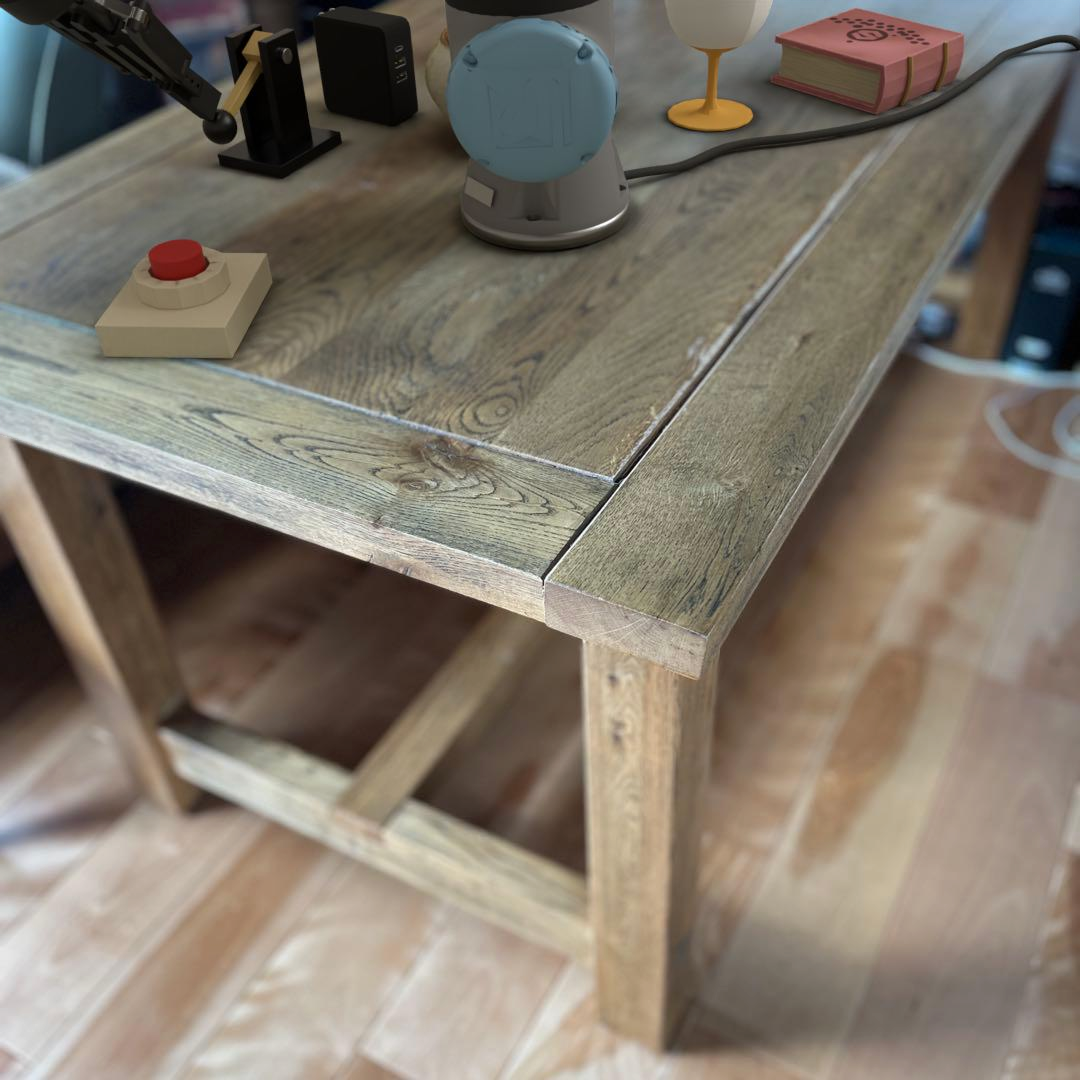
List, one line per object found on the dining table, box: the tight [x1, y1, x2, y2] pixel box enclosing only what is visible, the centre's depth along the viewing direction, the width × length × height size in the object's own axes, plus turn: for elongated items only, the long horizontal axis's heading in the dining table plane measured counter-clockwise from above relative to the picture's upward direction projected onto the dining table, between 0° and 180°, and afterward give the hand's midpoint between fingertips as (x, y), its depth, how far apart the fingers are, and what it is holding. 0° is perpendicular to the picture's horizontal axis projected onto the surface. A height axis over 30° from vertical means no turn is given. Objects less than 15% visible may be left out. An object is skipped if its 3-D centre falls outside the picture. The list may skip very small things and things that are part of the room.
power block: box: [94, 246, 273, 359], centre depth 87 cm, size 12×10×4 cm
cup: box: [664, 0, 774, 132], centre depth 113 cm, size 12×12×17 cm
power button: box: [147, 238, 206, 281], centre depth 85 cm, size 4×4×2 cm
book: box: [770, 7, 965, 115], centre depth 123 cm, size 14×15×5 cm
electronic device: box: [312, 5, 419, 127], centre depth 119 cm, size 4×10×10 cm, turn 56°
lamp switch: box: [217, 23, 343, 179], centre depth 110 cm, size 10×8×12 cm
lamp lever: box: [201, 31, 274, 146], centre depth 106 cm, size 12×3×3 cm, turn 152°
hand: (211, 105), depth 103 cm, fingers closed
